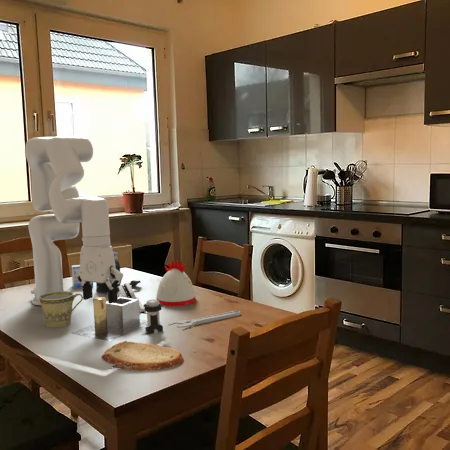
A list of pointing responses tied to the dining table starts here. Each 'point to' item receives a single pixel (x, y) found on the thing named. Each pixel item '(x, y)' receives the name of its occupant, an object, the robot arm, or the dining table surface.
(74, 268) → the medicine box
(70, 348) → the dining table surface
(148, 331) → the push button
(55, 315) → the ceramic cup
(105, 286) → the milk frother
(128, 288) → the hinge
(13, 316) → the dining table surface
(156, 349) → the bread slice
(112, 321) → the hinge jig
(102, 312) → the brass pin
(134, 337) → the dining table surface
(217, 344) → the dining table surface
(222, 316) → the adjustable wrench
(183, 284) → the kitchen timer
